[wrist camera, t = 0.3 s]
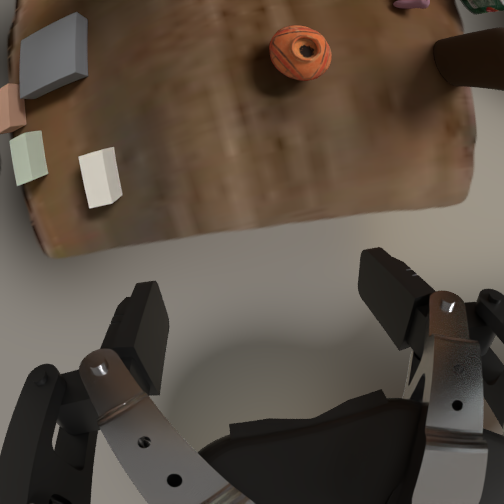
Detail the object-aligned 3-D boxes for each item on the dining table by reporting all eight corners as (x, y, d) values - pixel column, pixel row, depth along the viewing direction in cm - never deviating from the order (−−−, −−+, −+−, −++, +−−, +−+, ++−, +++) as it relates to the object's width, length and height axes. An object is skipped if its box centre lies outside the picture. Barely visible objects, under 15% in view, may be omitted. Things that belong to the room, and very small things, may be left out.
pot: (336, 66, 31) (349, 64, 25) (289, 90, 34) (292, 91, 28) (306, 21, 27) (313, 10, 22) (257, 45, 30) (255, 37, 25)
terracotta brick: (9, 93, 25) (-7, 93, 21) (24, 84, 25) (7, 83, 21) (12, 132, 28) (-5, 134, 24) (26, 124, 28) (10, 126, 24)
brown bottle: (422, 52, 30) (543, 42, 8) (444, 28, 27) (548, 17, 5) (454, 99, 34) (568, 117, 11) (473, 72, 31) (574, 81, 9)
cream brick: (92, 152, 32) (78, 156, 28) (113, 146, 33) (101, 149, 29) (101, 199, 35) (89, 208, 31) (122, 194, 36) (112, 203, 32)
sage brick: (26, 137, 29) (9, 140, 25) (41, 130, 29) (25, 132, 25) (33, 179, 32) (17, 186, 28) (48, 173, 32) (32, 180, 28)
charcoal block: (34, 44, 22) (21, 40, 19) (87, 19, 23) (76, 11, 19) (34, 99, 27) (20, 98, 23) (88, 76, 27) (75, 72, 24)
